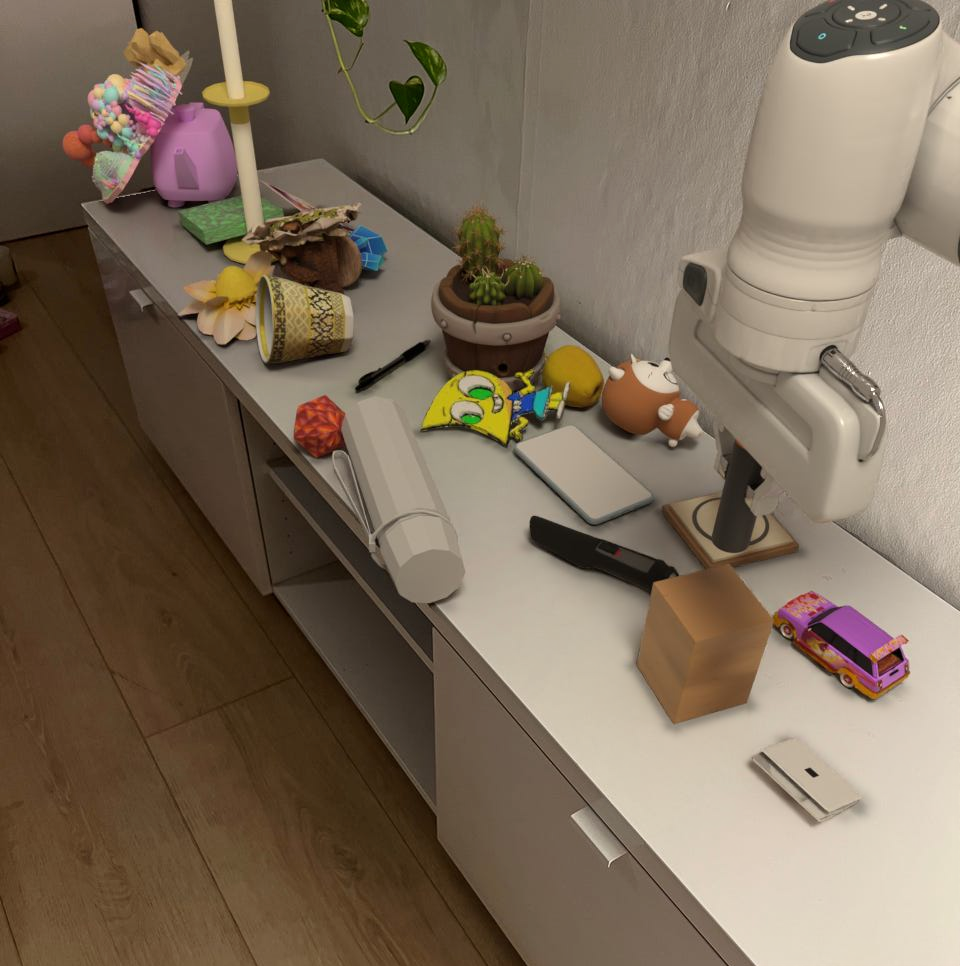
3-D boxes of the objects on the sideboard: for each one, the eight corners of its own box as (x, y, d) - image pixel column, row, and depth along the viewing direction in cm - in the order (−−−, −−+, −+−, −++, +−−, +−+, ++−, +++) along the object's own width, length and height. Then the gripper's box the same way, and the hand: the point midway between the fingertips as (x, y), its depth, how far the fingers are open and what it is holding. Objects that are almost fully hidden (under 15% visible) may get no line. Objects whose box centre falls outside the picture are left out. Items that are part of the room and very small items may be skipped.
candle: (243, 228, 145) (195, -84, 118) (305, 239, 143) (271, -76, 116) (209, 257, 139) (150, -66, 111) (274, 269, 137) (230, -57, 109)
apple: (598, 385, 109) (538, 346, 110) (577, 428, 114) (520, 390, 115) (622, 360, 113) (565, 323, 114) (601, 402, 118) (546, 366, 119)
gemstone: (309, 287, 134) (348, 259, 143) (367, 288, 131) (403, 260, 140) (298, 230, 130) (339, 205, 138) (358, 230, 127) (395, 205, 136)
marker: (737, 524, 75) (770, 399, 67) (757, 548, 73) (793, 423, 65) (703, 533, 75) (732, 407, 67) (722, 557, 73) (755, 431, 65)
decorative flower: (329, 299, 127) (308, 338, 136) (275, 226, 126) (258, 269, 135) (234, 349, 120) (219, 385, 129) (176, 271, 119) (165, 313, 128)
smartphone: (592, 522, 99) (510, 444, 108) (591, 529, 100) (510, 451, 108) (657, 496, 102) (573, 422, 111) (656, 503, 103) (572, 429, 111)
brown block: (706, 646, 89) (729, 563, 82) (746, 703, 84) (774, 620, 77) (636, 665, 87) (653, 582, 80) (673, 724, 83) (695, 641, 75)
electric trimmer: (539, 529, 100) (541, 504, 98) (681, 584, 94) (687, 559, 92) (521, 549, 98) (522, 524, 95) (665, 607, 92) (670, 582, 90)
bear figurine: (218, 237, 122) (249, 335, 128) (324, 217, 117) (352, 321, 123) (270, 214, 133) (297, 306, 139) (370, 196, 127) (393, 292, 134)
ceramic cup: (359, 284, 114) (273, 280, 111) (356, 372, 119) (272, 371, 115) (330, 271, 125) (250, 267, 121) (328, 352, 129) (250, 351, 125)
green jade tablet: (254, 191, 149) (258, 208, 150) (177, 211, 144) (182, 228, 146) (282, 209, 141) (286, 227, 142) (202, 230, 137) (207, 248, 138)
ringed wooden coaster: (745, 492, 104) (748, 481, 104) (797, 551, 98) (801, 541, 97) (661, 511, 102) (663, 500, 101) (708, 573, 96) (711, 563, 95)
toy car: (805, 602, 93) (818, 565, 90) (909, 681, 86) (928, 645, 83) (763, 626, 91) (775, 589, 87) (867, 709, 84) (884, 673, 81)
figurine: (723, 387, 102) (626, 330, 104) (675, 463, 104) (581, 405, 107) (731, 397, 111) (641, 343, 113) (686, 466, 113) (599, 412, 116)
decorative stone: (309, 395, 101) (277, 393, 107) (310, 462, 102) (278, 456, 109) (364, 396, 104) (330, 393, 110) (365, 460, 106) (331, 454, 112)
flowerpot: (581, 387, 117) (599, 219, 103) (471, 425, 112) (473, 252, 97) (513, 333, 126) (521, 170, 111) (407, 365, 120) (401, 198, 106)
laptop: (745, 767, 79) (755, 750, 78) (787, 748, 82) (798, 731, 81) (813, 832, 75) (825, 814, 74) (855, 809, 78) (867, 792, 77)
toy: (550, 454, 107) (419, 427, 110) (551, 457, 108) (420, 431, 111) (572, 373, 110) (443, 349, 112) (572, 377, 111) (444, 353, 113)
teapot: (168, 170, 159) (152, 84, 150) (247, 171, 160) (235, 85, 151) (147, 223, 146) (127, 132, 136) (232, 224, 146) (219, 132, 137)
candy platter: (178, 63, 155) (123, 18, 149) (214, 45, 136) (153, -8, 130) (97, 203, 157) (40, 164, 151) (121, 205, 138) (58, 160, 132)
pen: (348, 382, 115) (349, 390, 116) (359, 387, 115) (360, 395, 116) (422, 333, 123) (422, 342, 124) (433, 338, 123) (433, 346, 124)
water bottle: (407, 386, 103) (473, 538, 87) (405, 449, 109) (467, 603, 92) (319, 394, 101) (370, 552, 84) (322, 458, 106) (370, 617, 90)
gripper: (941, 390, 55) (867, 574, 65) (749, 234, 68) (712, 407, 78) (844, 411, 53) (784, 597, 63) (667, 247, 66) (640, 422, 76)
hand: (743, 491), depth 71 cm, fingers closed on marker, 3 cm apart
